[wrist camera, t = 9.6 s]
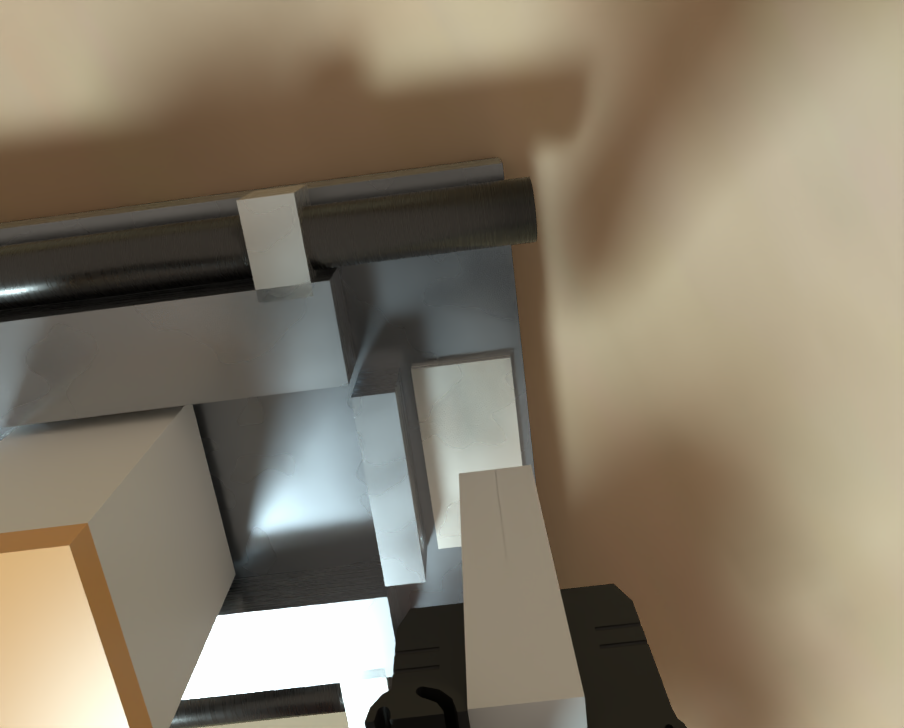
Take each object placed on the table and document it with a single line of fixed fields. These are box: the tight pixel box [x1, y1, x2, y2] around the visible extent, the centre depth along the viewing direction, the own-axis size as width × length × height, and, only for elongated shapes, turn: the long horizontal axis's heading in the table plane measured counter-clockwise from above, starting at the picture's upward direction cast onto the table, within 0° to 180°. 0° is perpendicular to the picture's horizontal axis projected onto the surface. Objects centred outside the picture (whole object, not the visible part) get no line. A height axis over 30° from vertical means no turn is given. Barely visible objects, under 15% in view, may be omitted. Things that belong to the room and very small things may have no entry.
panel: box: [0, 158, 537, 728], centre depth 20 cm, size 25×14×3 cm, turn 97°
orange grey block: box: [0, 405, 236, 728], centre depth 17 cm, size 4×5×7 cm
